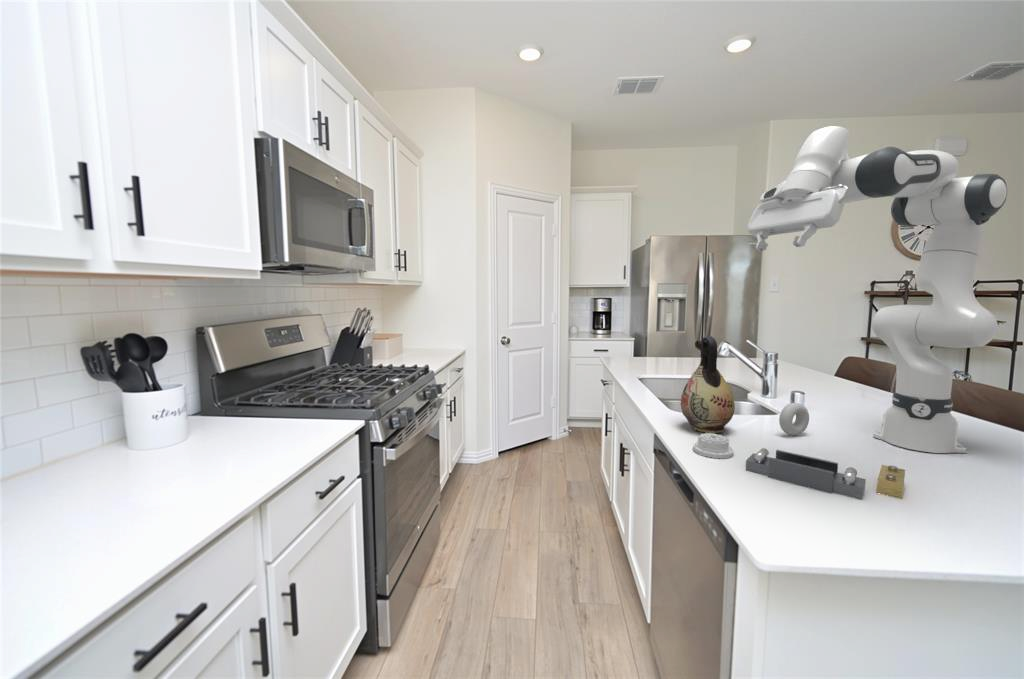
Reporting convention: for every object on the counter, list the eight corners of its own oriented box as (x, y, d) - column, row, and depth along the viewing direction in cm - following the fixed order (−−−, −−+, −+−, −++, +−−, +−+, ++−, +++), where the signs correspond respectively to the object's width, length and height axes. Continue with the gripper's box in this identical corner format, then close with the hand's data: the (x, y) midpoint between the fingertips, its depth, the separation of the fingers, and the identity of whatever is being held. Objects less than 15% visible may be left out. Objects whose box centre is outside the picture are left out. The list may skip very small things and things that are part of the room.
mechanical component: (697, 458, 112) (738, 461, 110) (698, 442, 111) (739, 444, 109) (689, 445, 121) (727, 447, 119) (690, 430, 121) (728, 432, 119)
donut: (800, 431, 131) (802, 400, 130) (811, 435, 128) (813, 402, 127) (775, 435, 128) (777, 402, 127) (785, 439, 125) (787, 405, 124)
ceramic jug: (674, 421, 143) (677, 332, 140) (723, 422, 141) (727, 332, 137) (688, 438, 126) (692, 337, 123) (743, 440, 124) (749, 338, 121)
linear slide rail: (753, 461, 108) (754, 444, 108) (865, 488, 93) (866, 469, 93) (744, 471, 103) (745, 453, 103) (861, 501, 88) (863, 480, 87)
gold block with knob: (876, 494, 91) (878, 475, 91) (880, 479, 99) (881, 462, 98) (901, 500, 89) (903, 481, 88) (903, 484, 96) (905, 467, 95)
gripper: (860, 190, 88) (833, 250, 88) (772, 209, 108) (749, 257, 107) (842, 174, 86) (815, 234, 85) (755, 195, 105) (732, 245, 105)
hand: (778, 247), depth 96 cm, fingers open, 8 cm apart
